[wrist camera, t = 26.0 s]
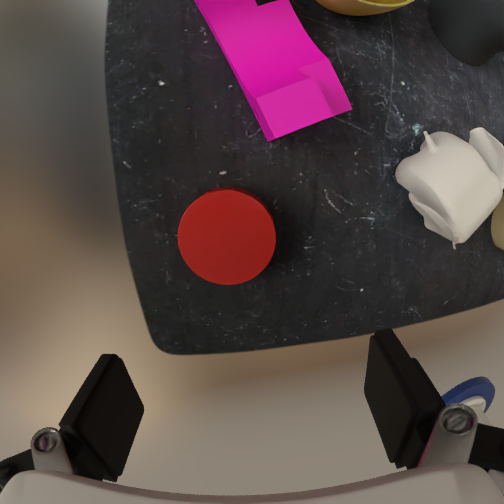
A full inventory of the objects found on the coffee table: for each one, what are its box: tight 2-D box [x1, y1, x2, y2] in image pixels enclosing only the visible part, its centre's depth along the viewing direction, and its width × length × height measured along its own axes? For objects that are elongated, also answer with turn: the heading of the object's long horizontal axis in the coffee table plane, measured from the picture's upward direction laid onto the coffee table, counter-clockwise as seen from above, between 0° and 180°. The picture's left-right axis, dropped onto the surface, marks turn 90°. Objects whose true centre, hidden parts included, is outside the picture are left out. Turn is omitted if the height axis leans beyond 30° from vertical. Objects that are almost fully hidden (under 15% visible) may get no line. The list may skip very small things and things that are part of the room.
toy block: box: [195, 0, 352, 142], centre depth 17 cm, size 15×6×8 cm, turn 25°
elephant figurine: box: [395, 128, 504, 250], centre depth 20 cm, size 10×12×9 cm
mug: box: [428, 0, 504, 66], centre depth 13 cm, size 12×9×11 cm
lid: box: [178, 186, 276, 285], centre depth 24 cm, size 8×8×2 cm
